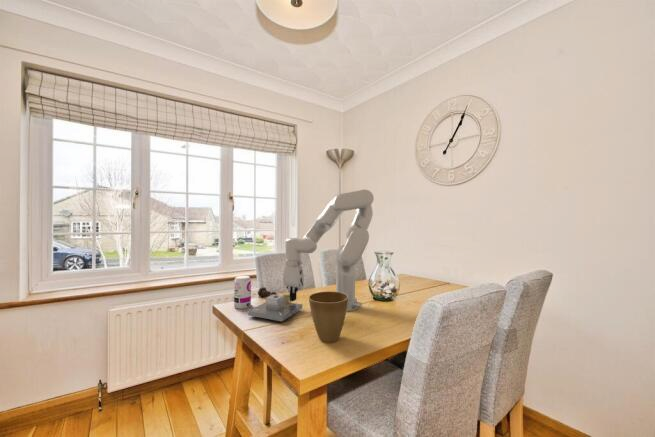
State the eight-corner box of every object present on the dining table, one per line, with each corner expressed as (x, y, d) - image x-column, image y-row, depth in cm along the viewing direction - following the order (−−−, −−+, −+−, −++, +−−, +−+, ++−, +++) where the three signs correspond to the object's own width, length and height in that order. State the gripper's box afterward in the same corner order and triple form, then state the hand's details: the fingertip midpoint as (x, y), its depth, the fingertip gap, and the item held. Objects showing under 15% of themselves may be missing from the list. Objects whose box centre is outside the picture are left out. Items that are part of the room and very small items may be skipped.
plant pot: (333, 327, 117) (333, 289, 117) (355, 341, 104) (356, 298, 104) (301, 335, 109) (301, 294, 109) (321, 351, 96) (321, 304, 96)
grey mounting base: (304, 309, 139) (304, 295, 139) (282, 323, 120) (282, 308, 120) (273, 304, 146) (273, 291, 146) (248, 317, 127) (248, 302, 127)
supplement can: (253, 304, 147) (253, 275, 146) (247, 309, 138) (247, 279, 138) (238, 303, 147) (238, 275, 147) (231, 309, 139) (231, 278, 139)
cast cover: (283, 306, 134) (283, 295, 134) (277, 310, 128) (277, 299, 128) (273, 304, 136) (273, 294, 136) (265, 308, 130) (265, 297, 130)
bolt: (276, 305, 151) (260, 298, 161) (283, 299, 154) (266, 292, 165) (272, 297, 149) (256, 291, 159) (279, 291, 152) (262, 285, 162)
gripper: (309, 263, 138) (309, 300, 138) (286, 260, 146) (286, 296, 146) (300, 265, 132) (300, 304, 132) (276, 262, 140) (276, 299, 140)
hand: (293, 300), depth 139 cm, fingers closed
